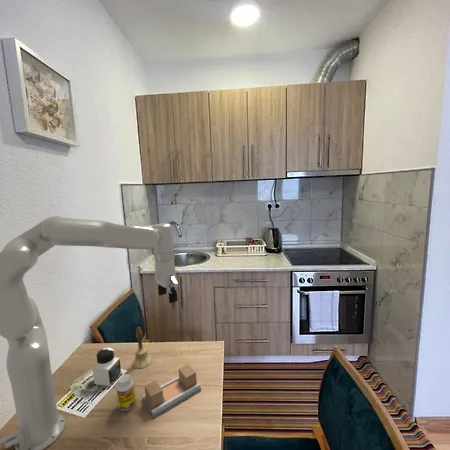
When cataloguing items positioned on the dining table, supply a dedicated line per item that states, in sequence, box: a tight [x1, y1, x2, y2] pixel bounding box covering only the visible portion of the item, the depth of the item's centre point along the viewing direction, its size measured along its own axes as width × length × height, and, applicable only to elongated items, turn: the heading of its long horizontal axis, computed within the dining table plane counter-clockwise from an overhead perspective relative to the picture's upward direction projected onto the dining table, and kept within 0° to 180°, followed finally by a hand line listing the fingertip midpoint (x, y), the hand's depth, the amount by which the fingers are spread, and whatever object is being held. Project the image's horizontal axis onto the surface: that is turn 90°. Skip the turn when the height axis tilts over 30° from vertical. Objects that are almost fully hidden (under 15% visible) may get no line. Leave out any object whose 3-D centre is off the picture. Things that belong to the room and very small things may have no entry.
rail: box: [142, 364, 202, 419], centre depth 92 cm, size 18×10×6 cm, turn 127°
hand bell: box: [131, 326, 153, 370], centre depth 110 cm, size 8×8×16 cm
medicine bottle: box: [91, 347, 122, 387], centre depth 101 cm, size 7×7×12 cm
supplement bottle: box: [116, 373, 136, 412], centre depth 88 cm, size 6×6×10 cm
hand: (167, 298), depth 101 cm, fingers open, 9 cm apart
